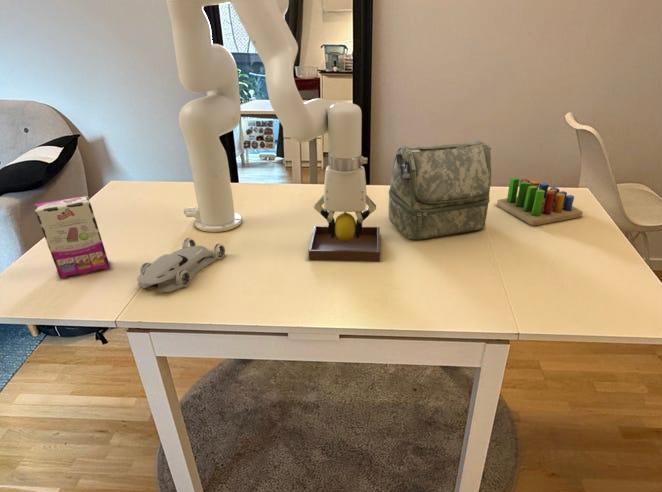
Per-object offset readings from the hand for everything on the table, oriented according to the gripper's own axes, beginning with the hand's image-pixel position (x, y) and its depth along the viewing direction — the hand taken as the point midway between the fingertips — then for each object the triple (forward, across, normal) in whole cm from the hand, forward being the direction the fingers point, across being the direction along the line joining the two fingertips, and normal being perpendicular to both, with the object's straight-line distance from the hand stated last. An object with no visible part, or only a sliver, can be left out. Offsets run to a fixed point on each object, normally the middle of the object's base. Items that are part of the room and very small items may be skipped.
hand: (345, 235), depth 136 cm
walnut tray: (+3, 0, 0) cm, 3 cm away
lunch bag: (+4, -24, -15) cm, 29 cm away
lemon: (+2, 0, 0) cm, 2 cm away
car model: (+4, +38, +15) cm, 41 cm away
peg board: (+4, -55, -27) cm, 61 cm away
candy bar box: (+4, +61, +15) cm, 63 cm away
